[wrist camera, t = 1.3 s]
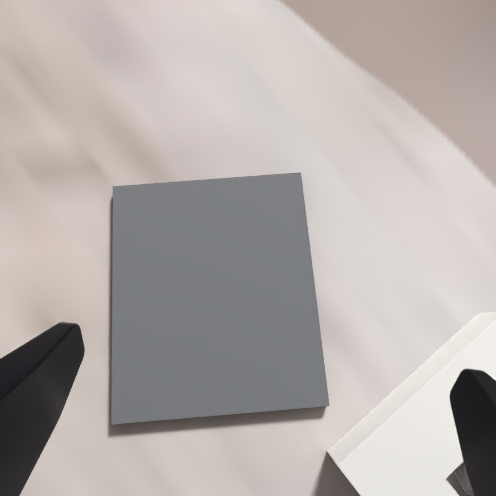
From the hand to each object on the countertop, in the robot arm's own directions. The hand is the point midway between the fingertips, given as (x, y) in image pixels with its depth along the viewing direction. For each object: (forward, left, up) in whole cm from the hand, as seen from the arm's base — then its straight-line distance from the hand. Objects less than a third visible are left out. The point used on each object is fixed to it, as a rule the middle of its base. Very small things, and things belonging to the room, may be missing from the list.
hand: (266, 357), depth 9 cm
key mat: (+4, +2, -14) cm, 14 cm away
